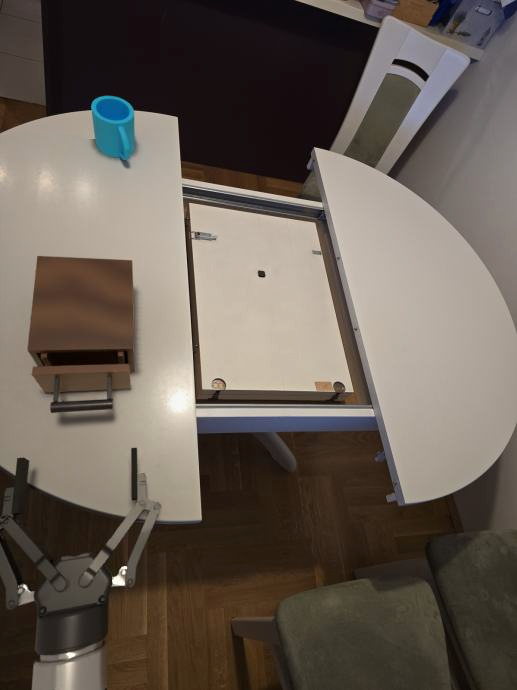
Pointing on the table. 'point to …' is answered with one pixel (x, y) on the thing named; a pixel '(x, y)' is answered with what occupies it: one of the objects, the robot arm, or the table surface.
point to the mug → (113, 126)
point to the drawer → (82, 377)
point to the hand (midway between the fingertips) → (80, 453)
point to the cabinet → (82, 307)
